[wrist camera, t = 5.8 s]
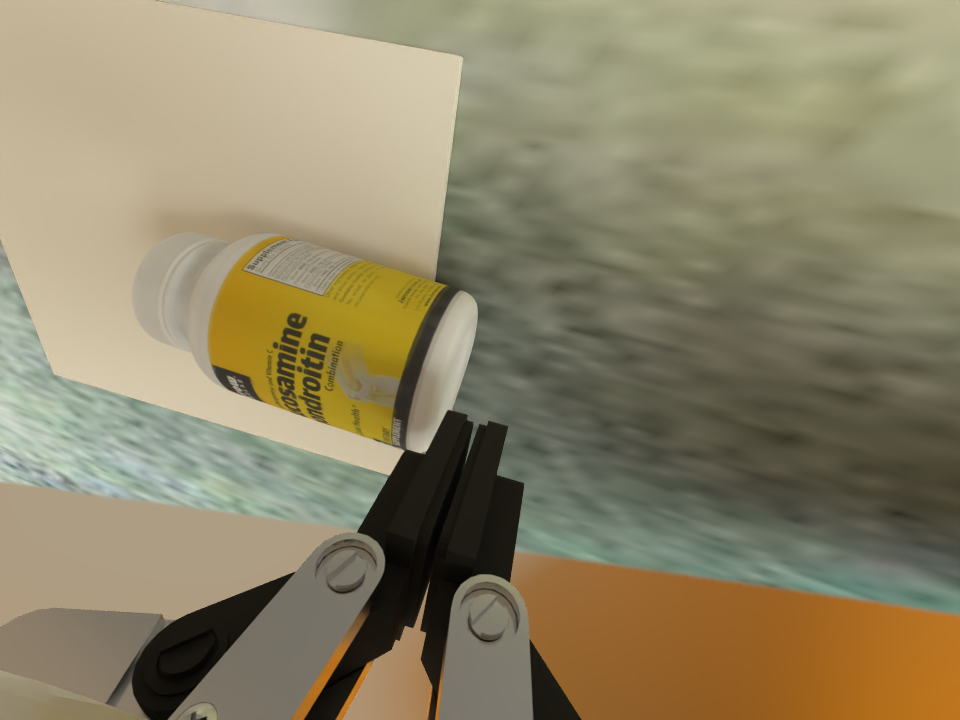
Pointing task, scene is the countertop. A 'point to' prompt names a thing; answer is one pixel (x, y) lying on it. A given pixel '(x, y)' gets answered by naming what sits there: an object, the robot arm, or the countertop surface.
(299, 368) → the pill bottle
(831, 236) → the countertop surface
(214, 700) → the robot arm
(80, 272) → the mat
